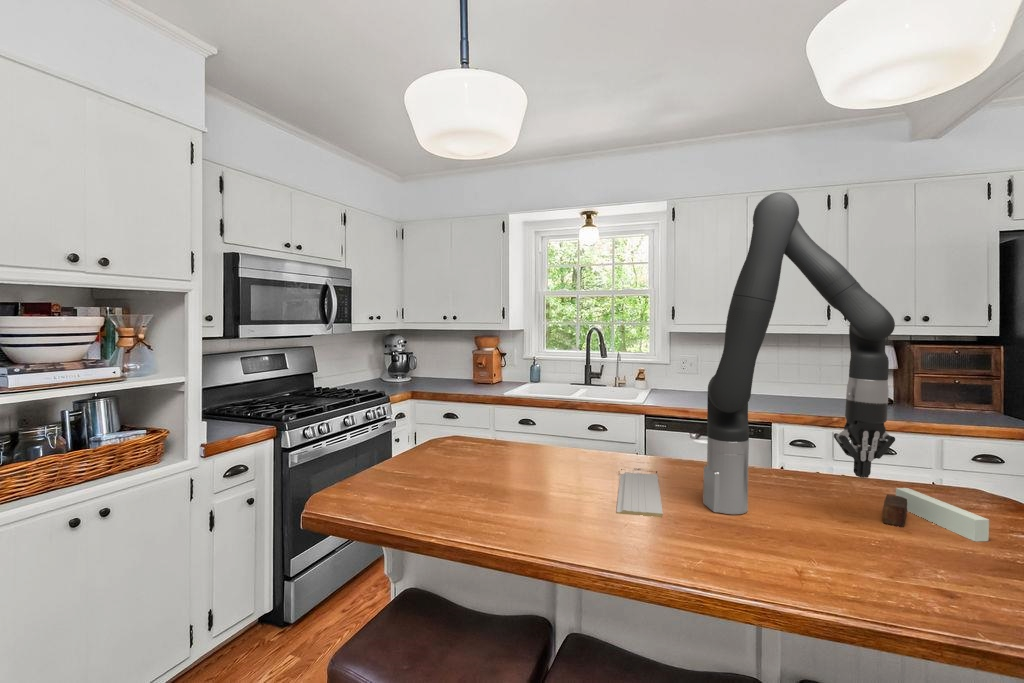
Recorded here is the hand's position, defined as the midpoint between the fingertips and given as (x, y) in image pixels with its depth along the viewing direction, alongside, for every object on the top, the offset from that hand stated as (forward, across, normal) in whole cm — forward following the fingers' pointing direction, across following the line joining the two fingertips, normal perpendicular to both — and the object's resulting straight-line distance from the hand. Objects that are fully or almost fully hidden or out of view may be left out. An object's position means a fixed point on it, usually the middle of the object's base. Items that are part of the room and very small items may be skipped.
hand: (861, 476), depth 111 cm
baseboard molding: (+13, -43, +23) cm, 51 cm away
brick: (+11, +11, +3) cm, 16 cm away
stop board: (+10, +19, +1) cm, 22 cm away
